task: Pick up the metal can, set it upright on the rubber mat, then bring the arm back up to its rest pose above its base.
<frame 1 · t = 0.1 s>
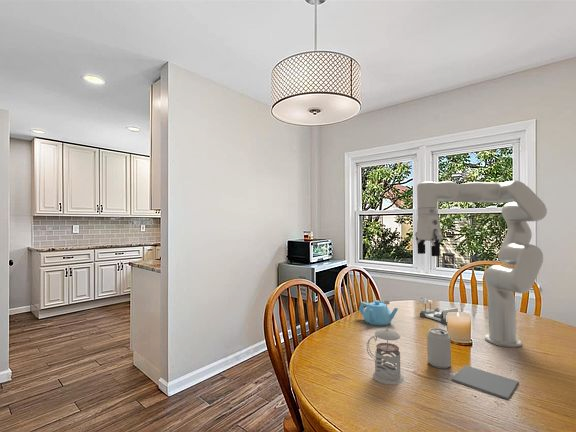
hand: (428, 254, 124), 37 cm above the table, tool pointing down, fingers open, 9 cm apart
can: (439, 365, 109), on the table
teapot: (377, 322, 156), on the table
french press: (385, 376, 101), on the table
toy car: (437, 319, 161), on the table
mat: (484, 381, 97), on the table
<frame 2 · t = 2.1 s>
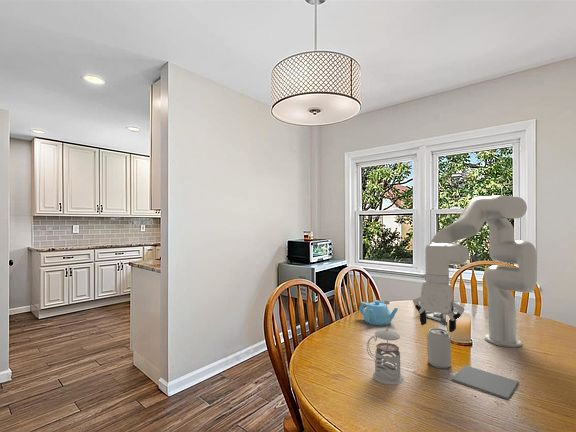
hand: (437, 327, 109), 13 cm above the table, tool pointing down, fingers open, 9 cm apart
nothing on the table moved.
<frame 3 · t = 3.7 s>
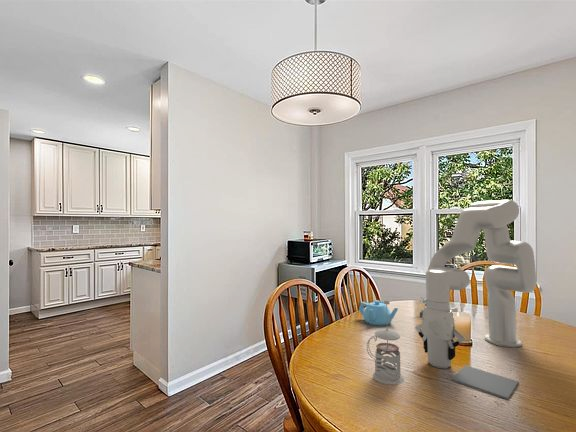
hand: (439, 354, 109), 3 cm above the table, tool pointing down, fingers closed on can, 7 cm apart
can: (439, 365, 109), on the table, touching gripper
everything else where it was.
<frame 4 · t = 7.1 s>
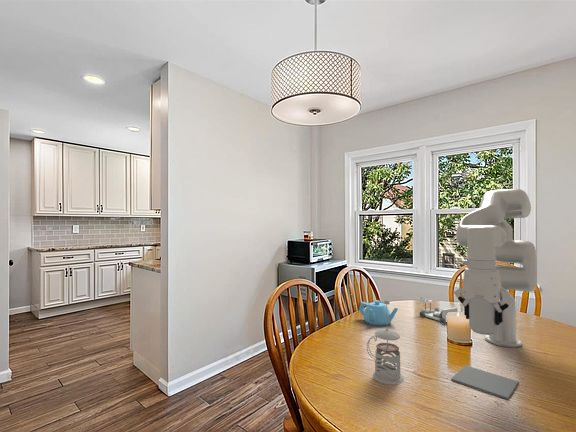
hand: (482, 320, 97), 19 cm above the table, tool pointing down, fingers closed on can, 7 cm apart
can: (483, 332, 97), point 15 cm above the table, touching gripper
everything else where it was.
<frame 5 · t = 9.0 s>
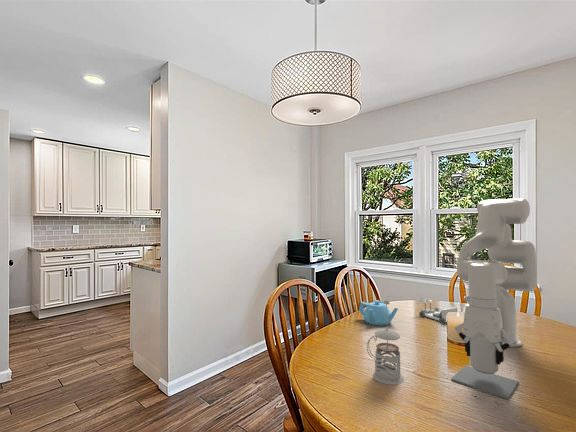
hand: (483, 358, 97), 7 cm above the table, tool pointing down, fingers closed on can, 7 cm apart
can: (484, 370, 97), point 4 cm above the table, touching gripper
everything else where it was.
when the fingers open (5 cm above the table, at t = 10.5 s): can drops 1 cm, resting on mat.
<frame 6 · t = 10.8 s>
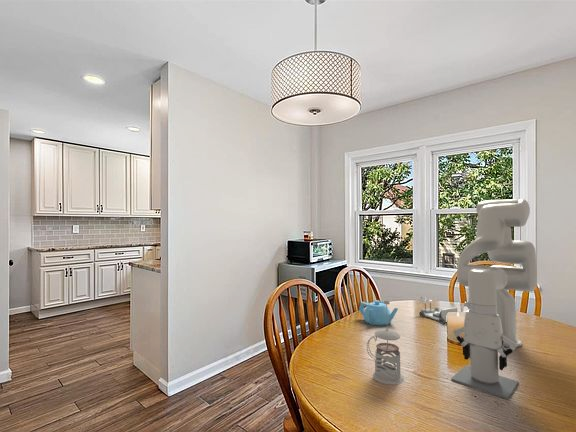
hand: (484, 363, 97), 6 cm above the table, tool pointing down, fingers open, 9 cm apart
can: (484, 380, 97), resting on mat
everything else where it was.
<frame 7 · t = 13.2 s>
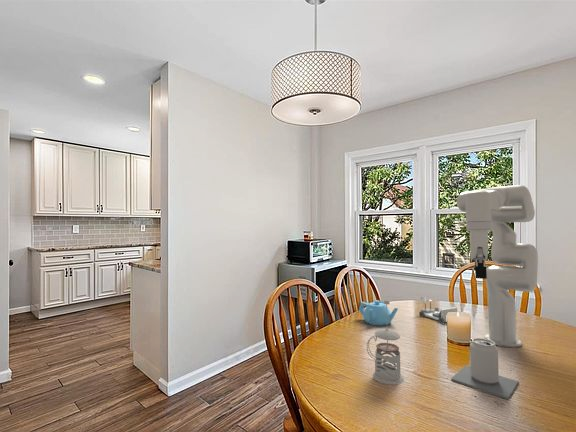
hand: (480, 275, 107), 32 cm above the table, tool pointing down, fingers open, 9 cm apart
nothing on the table moved.
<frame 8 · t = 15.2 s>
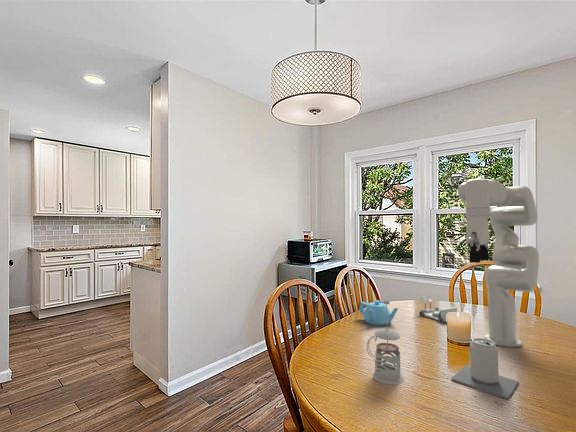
hand: (479, 260, 110), 36 cm above the table, tool pointing down, fingers open, 9 cm apart
at the end: can inside the target area on the mat (0.2 cm from its centre), point 0.4 cm above the mat's base; can tilted 0°; the gripper is holding nothing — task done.
